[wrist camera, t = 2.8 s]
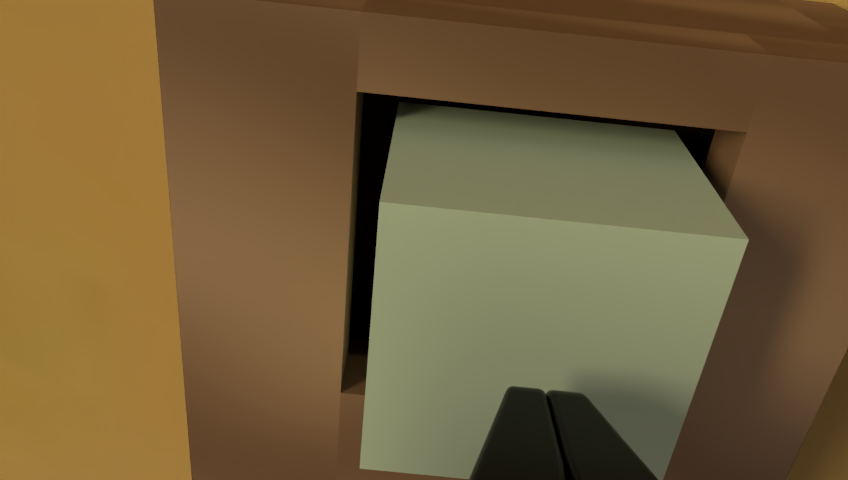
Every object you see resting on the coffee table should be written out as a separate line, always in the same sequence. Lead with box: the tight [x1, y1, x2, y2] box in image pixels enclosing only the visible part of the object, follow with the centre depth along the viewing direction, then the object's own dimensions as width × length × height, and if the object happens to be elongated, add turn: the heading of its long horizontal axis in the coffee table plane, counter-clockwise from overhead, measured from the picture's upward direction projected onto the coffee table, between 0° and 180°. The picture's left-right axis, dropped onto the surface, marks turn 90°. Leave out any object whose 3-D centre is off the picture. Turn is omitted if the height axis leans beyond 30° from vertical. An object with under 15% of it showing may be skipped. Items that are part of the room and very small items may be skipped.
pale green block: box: [360, 102, 749, 480], centre depth 10 cm, size 4×4×3 cm
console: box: [154, 0, 848, 480], centre depth 15 cm, size 17×10×4 cm, turn 174°
